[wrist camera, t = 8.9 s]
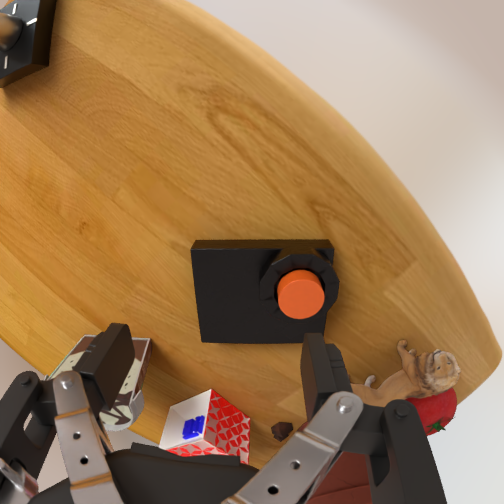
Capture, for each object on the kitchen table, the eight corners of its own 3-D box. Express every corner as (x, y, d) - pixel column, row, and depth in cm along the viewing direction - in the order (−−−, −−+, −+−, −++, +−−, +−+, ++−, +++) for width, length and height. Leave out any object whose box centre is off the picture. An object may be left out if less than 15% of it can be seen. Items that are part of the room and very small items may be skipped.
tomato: (453, 365, 33) (477, 403, 26) (432, 404, 36) (449, 441, 29) (404, 373, 33) (424, 418, 26) (385, 413, 37) (398, 455, 29)
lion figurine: (423, 312, 29) (460, 363, 21) (438, 335, 31) (471, 384, 22) (324, 383, 34) (336, 442, 25) (346, 400, 35) (360, 454, 27)
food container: (92, 368, 34) (62, 421, 25) (75, 333, 32) (38, 386, 23) (174, 376, 34) (155, 441, 25) (162, 338, 31) (134, 406, 22)
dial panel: (10, 16, 16) (-6, 12, 14) (59, -11, 16) (44, -19, 13) (1, 88, 20) (-17, 88, 17) (49, 66, 20) (30, 62, 17)
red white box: (208, 433, 39) (201, 476, 31) (170, 406, 36) (157, 452, 29) (250, 418, 37) (249, 465, 29) (212, 388, 34) (203, 439, 27)
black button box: (195, 237, 27) (185, 254, 23) (332, 236, 26) (342, 254, 23) (204, 329, 31) (198, 354, 27) (321, 329, 30) (328, 354, 27)
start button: (277, 269, 24) (278, 279, 22) (322, 269, 24) (326, 279, 22) (276, 307, 25) (277, 319, 24) (318, 306, 25) (322, 318, 23)
